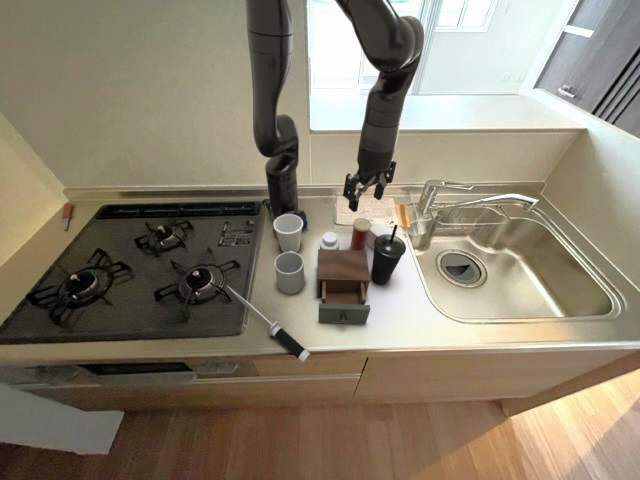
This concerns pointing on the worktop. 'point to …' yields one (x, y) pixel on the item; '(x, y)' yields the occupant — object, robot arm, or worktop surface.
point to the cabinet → (342, 267)
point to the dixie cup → (288, 232)
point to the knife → (278, 333)
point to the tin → (360, 234)
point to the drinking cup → (386, 256)
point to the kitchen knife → (66, 214)
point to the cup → (289, 272)
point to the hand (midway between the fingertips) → (365, 204)
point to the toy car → (299, 214)
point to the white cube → (378, 232)
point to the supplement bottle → (329, 241)
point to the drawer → (343, 303)
